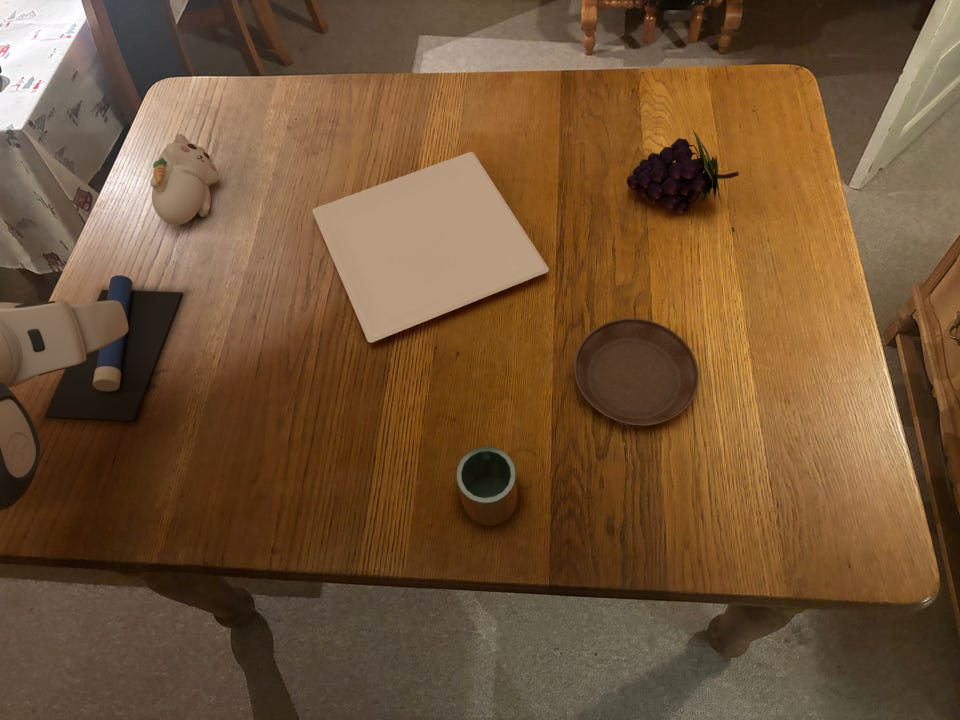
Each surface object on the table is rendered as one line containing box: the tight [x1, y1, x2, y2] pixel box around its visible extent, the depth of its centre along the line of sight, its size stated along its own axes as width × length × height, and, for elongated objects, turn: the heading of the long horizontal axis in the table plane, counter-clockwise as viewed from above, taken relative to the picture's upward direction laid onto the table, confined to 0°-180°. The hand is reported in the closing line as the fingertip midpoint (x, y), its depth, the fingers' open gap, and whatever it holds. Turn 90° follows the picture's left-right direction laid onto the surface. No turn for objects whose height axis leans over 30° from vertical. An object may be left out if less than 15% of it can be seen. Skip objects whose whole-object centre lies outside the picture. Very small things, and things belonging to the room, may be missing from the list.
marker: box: [93, 274, 134, 391], centre depth 88 cm, size 3×3×17 cm
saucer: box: [573, 317, 700, 426], centre depth 81 cm, size 15×15×3 cm
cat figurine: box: [149, 133, 220, 226], centre depth 99 cm, size 10×8×15 cm
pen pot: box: [455, 445, 518, 527], centre depth 72 cm, size 6×6×8 cm
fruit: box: [626, 129, 740, 214], centre depth 92 cm, size 10×11×15 cm
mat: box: [44, 289, 184, 423], centre depth 89 cm, size 20×12×1 cm, turn 175°
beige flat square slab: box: [311, 151, 550, 344], centre depth 94 cm, size 26×26×2 cm
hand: (61, 322), depth 77 cm, fingers open, 8 cm apart
